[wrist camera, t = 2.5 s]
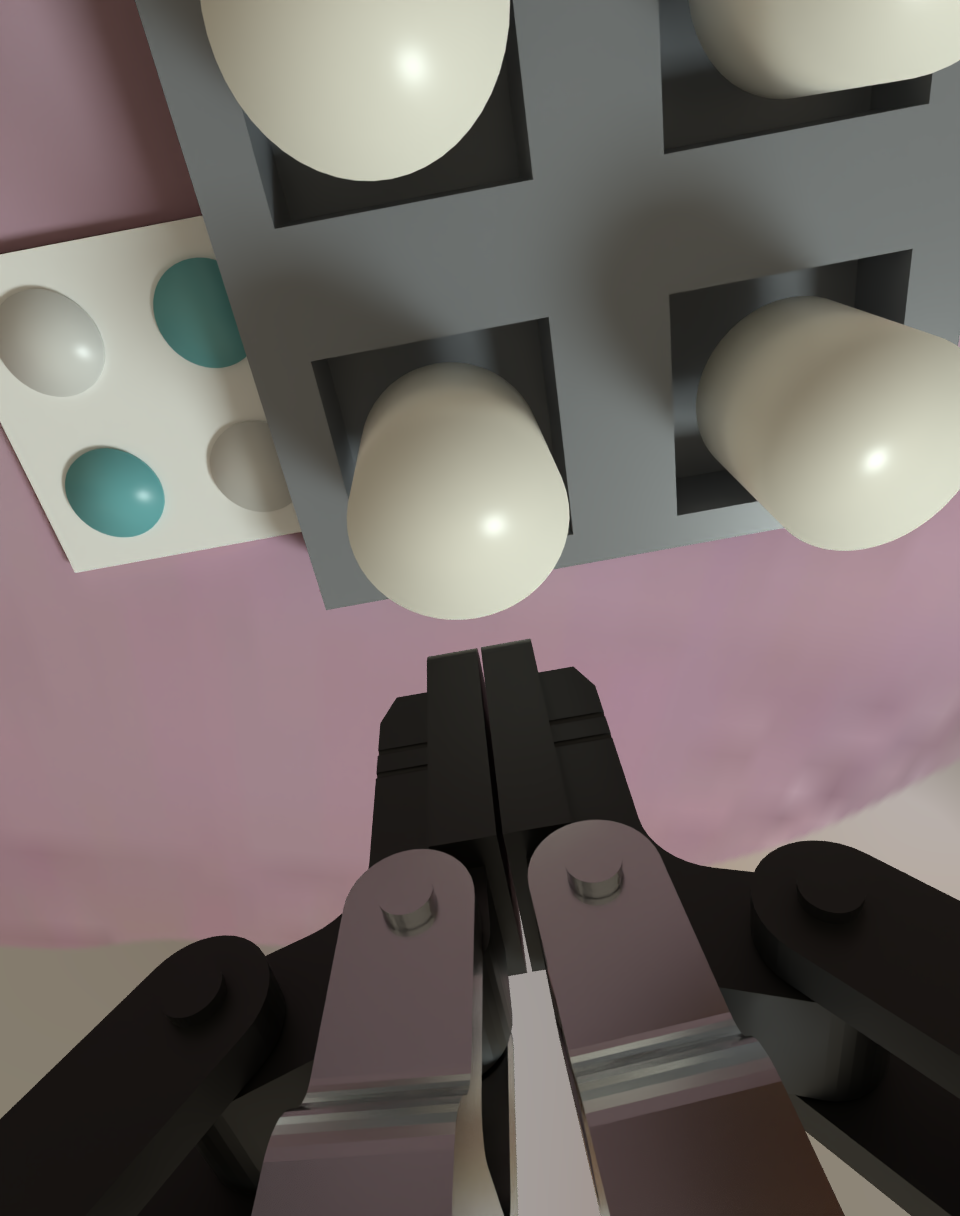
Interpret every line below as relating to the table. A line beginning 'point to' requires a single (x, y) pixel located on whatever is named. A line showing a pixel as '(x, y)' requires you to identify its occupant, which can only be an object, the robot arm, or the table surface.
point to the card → (135, 398)
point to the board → (567, 256)
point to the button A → (360, 76)
